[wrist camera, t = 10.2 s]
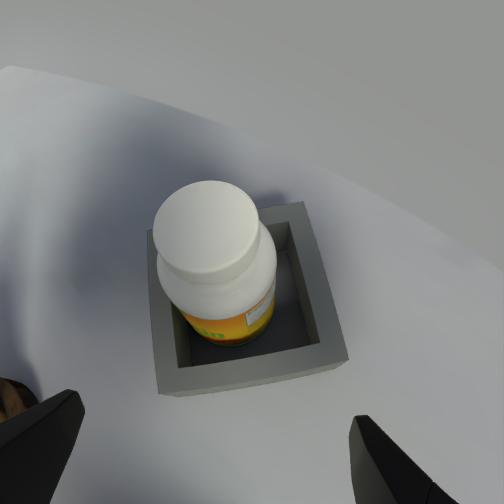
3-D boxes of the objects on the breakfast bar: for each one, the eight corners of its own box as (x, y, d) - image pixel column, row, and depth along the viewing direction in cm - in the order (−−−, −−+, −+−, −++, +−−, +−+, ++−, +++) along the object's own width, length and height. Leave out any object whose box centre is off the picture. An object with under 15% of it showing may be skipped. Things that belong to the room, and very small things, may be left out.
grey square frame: (177, 396, 18) (158, 393, 15) (163, 256, 22) (147, 230, 19) (335, 368, 18) (349, 359, 15) (299, 231, 22) (303, 201, 19)
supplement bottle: (172, 315, 20) (106, 240, 12) (222, 253, 22) (196, 149, 13) (240, 365, 19) (216, 323, 10) (290, 295, 20) (306, 204, 12)
